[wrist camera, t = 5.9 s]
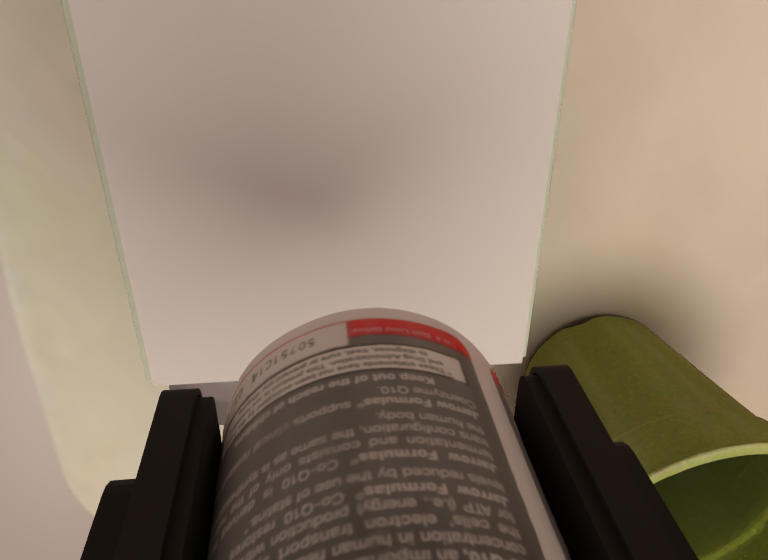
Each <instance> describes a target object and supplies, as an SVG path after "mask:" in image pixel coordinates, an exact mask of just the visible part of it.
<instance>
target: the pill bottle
mask: <svg viewBox="0 0 768 560" xmlns="http://www.w3.org/2000/svg"><path fill="white" fill-rule="evenodd" d="M206 560H572V559H571V557H570V554H569V552H568V549H567V547H566V544H565V542H564V540H563V537H562V535H561V532H560V530H559V528H558V525H557V523H556V521H555V518H554V516H553V513H552V511H551V508H550V506H549V504H548V502H547V499H546V497H545V494H544V492H543V489H542V487H541V484H540V482H539V479H538V477H537V475H536V472H535V470H534V468H533V465H532V463H531V460H530V458H529V456H528V453H527V451H526V448H525V446H524V443H523V441H522V438H521V436H520V433H519V430H518V428H517V425H516V423H515V420H514V418H513V415H512V413H511V411H510V408H509V406H508V404H507V401H506V397H505V395H504V392H503V389H502V387H501V385H500V383H499V381H498V379H497V376H496V374H495V373H494V371H493V369H492V368H491V366H490V364H489V363H488V362H487V360H486V359H485V357H484V356H483V355H482V353H481V352H480V351H479V350H478V349H477V348H476V347H475V346H474V345H473V344H472V343H471V342H470V341H469V340H468V339H467V338H465V337H464V336H463V335H462V334H460V333H459V332H458V331H456V330H454V329H453V328H451V327H449V326H448V325H446V324H444V323H442V322H440V321H438V320H435V319H433V318H430V317H427V316H424V315H421V314H418V313H414V312H409V311H404V310H399V309H390V308H362V309H352V310H346V311H341V312H336V313H333V314H329V315H326V316H323V317H320V318H317V319H314V320H312V321H310V322H308V323H305V324H303V325H301V326H299V327H297V328H295V329H293V330H291V331H289V332H287V333H285V334H284V335H282V336H281V337H279V338H278V339H276V340H275V341H273V342H272V343H270V344H269V345H268V346H267V347H266V348H264V349H263V350H262V351H261V352H260V353H259V354H258V355H257V356H256V357H255V358H254V359H253V360H252V361H251V362H250V364H249V365H248V366H247V367H246V369H245V370H244V372H243V373H242V375H241V376H240V378H239V380H238V382H237V384H236V386H235V388H234V390H233V393H232V396H231V399H230V401H229V405H228V409H227V414H226V420H225V425H224V430H223V440H222V447H221V455H220V461H219V471H218V478H217V484H216V493H215V501H214V508H213V515H212V522H211V530H210V537H209V545H208V552H207V559H206Z"/></svg>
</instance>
